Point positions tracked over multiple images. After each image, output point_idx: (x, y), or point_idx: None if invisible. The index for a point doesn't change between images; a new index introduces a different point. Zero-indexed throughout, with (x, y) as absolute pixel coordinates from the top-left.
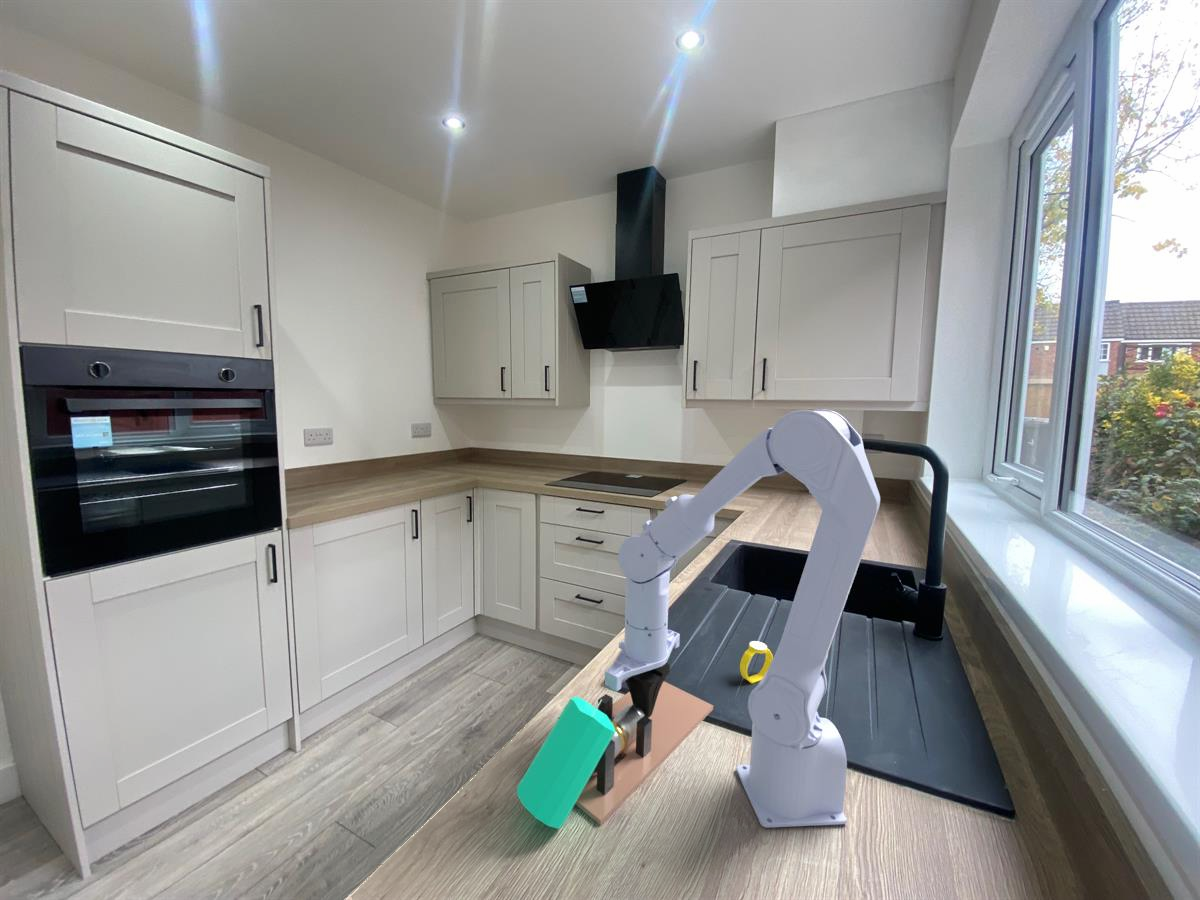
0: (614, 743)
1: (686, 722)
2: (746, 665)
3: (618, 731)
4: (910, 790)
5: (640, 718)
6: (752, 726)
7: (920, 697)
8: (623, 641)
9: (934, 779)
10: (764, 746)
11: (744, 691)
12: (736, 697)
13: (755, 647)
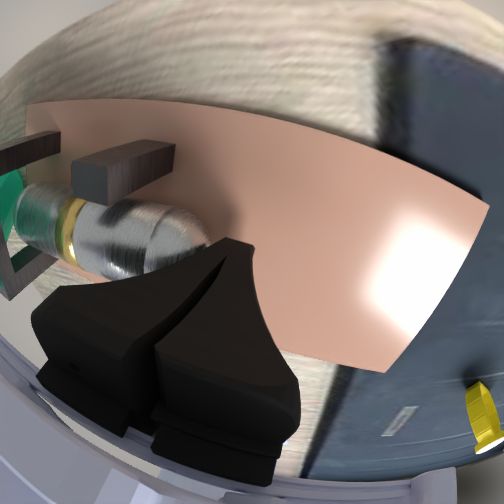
0: (10, 299)
1: (300, 342)
2: (470, 421)
3: (68, 263)
4: (298, 466)
5: None
6: (182, 479)
7: (430, 465)
8: (8, 460)
9: (320, 472)
10: (160, 472)
11: (446, 387)
12: (429, 383)
13: (484, 447)
